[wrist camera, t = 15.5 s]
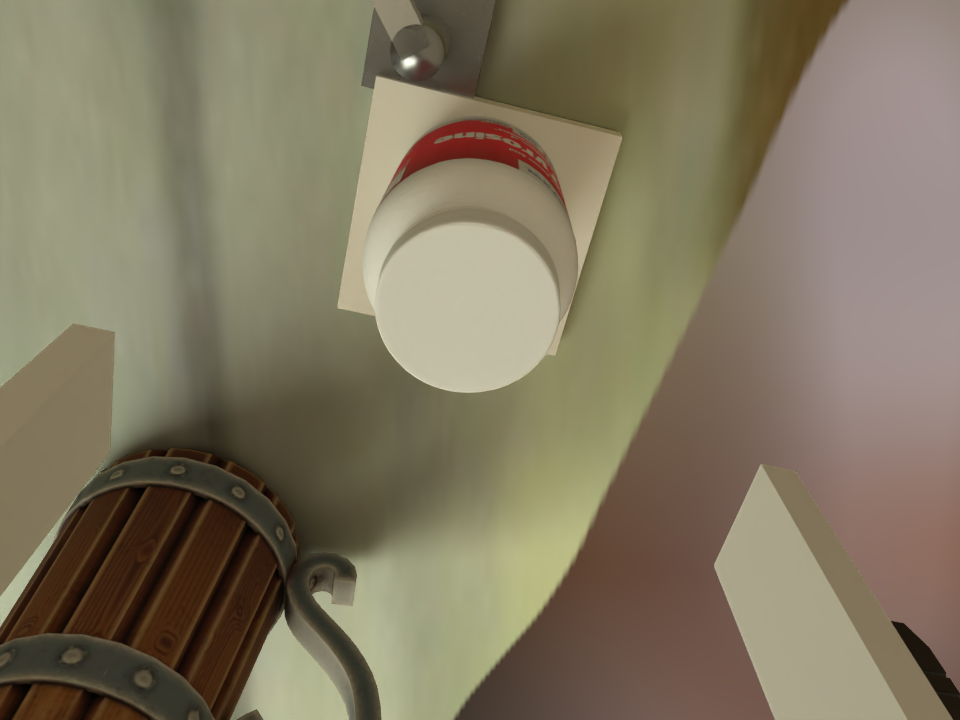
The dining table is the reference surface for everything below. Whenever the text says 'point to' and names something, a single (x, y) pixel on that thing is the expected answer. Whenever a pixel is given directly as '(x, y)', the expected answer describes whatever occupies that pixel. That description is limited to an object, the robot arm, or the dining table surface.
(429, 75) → the jointed bar linkage
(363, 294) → the pad
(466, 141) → the pill bottle
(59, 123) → the dining table surface
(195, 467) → the mug
